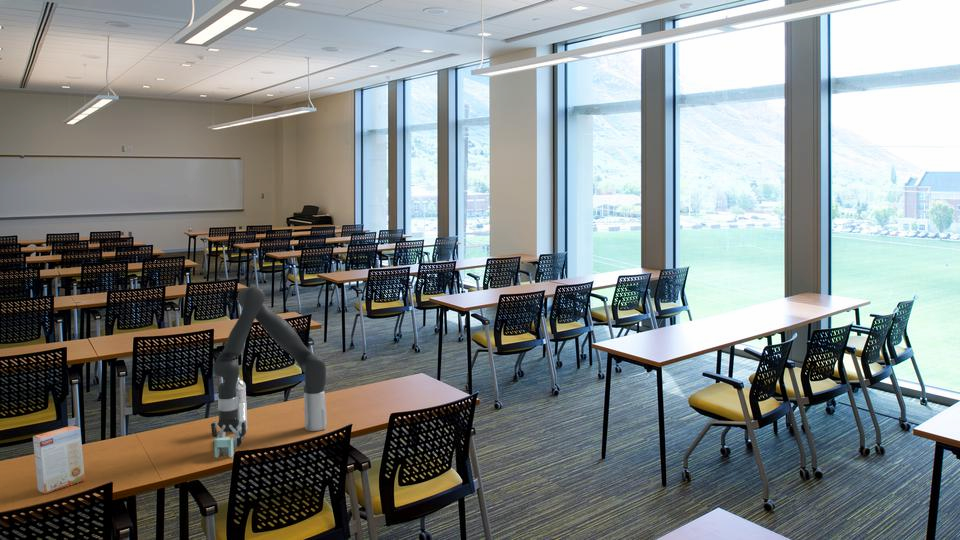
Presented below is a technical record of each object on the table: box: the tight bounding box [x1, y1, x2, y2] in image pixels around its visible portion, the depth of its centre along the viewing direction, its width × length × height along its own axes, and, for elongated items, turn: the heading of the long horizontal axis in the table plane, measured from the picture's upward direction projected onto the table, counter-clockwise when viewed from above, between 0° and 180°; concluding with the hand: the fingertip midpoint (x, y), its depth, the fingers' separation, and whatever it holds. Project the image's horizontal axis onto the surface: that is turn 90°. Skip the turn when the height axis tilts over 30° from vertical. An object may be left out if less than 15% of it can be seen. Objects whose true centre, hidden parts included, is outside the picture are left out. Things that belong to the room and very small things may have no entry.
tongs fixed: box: [220, 429, 245, 456], centre depth 291 cm, size 20×4×4 cm, turn 3°
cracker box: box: [32, 425, 86, 494], centre depth 251 cm, size 14×6×21 cm, turn 145°
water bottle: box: [236, 375, 248, 430], centre depth 310 cm, size 7×7×25 cm
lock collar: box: [213, 436, 234, 459], centre depth 279 cm, size 3×7×7 cm, turn 93°
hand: (229, 446), depth 287 cm, fingers open, 7 cm apart
